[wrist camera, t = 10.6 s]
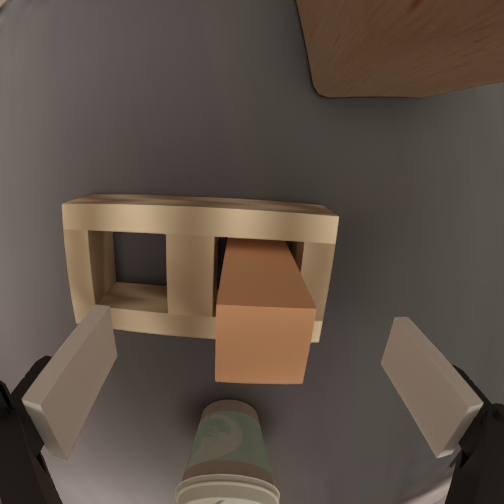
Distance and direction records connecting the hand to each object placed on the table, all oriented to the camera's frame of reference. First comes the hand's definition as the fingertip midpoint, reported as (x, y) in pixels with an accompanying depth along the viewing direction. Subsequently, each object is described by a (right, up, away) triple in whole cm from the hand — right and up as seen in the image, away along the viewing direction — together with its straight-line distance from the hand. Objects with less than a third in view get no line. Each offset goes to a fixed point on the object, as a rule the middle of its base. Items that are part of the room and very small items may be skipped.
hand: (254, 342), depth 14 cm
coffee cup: (-2, -13, +16) cm, 21 cm away
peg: (0, +4, +11) cm, 11 cm away
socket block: (-4, +4, +11) cm, 12 cm away
